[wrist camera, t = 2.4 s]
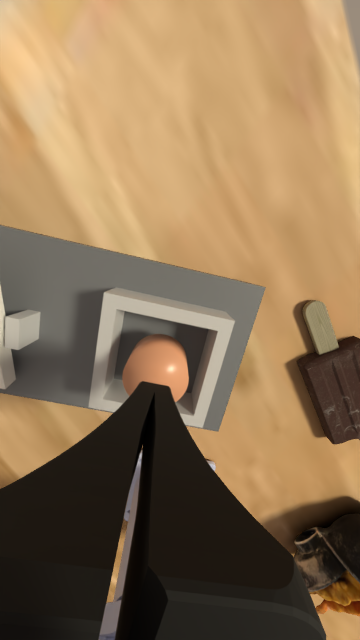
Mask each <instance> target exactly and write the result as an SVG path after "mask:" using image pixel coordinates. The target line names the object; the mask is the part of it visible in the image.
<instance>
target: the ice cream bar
mask: <svg viewBox="0 0 360 640" xmlns="http://www.w3.org/2000/svg"><path fill="white" fill-rule="evenodd" d="M302 312H303V316H304V319H305V322H306V325H307V327H308V330H309V333H310V336H311V339H312V341H313V344H314V347H315V350H316V352H313V353H311V354H308V355H306V356H305V357H303V358H301V359H299V360H298V361H297V363H298V366H299V369H300V371H301V374H302V376H303V379H304V381H305V384H306V386H307V389H308V391H309V394H310V397H311V399H312V402H313V404H314V407H315V409H316V412H317V414H318V417H319V420H320V422H321V425H322V427H323V430H324V432H325V435H326V437H327V438H328V439H329V440H330V441H331V442H332V444H340V443H344V442H346V441H349V440H352V439H359V440H360V339H359V338H357V337H355V336H352V337H350V338H347V339H344V340H342V341H340V342H337V339H336V336H335V333H334V330H333V327H332V324H331V321H330V318H329V315H328V312H327V309H326V306H325V304H324V303H322V302H320V301H316V300H312V301H309V302H308V303H306V304H305V306H304V307H303V311H302Z"/></svg>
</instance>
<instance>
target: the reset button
mask: <svg viewBox="0 0 360 640" xmlns="http://www.w3.org/2000/svg"><path fill="white" fill-rule="evenodd" d="M122 381H123V385H124V388H125V390H126V392H127V394H128V395H129V396H130V395H131V394H132V393H133V392H134V390H135V389H136V388H137V386H138V384H139V383H140V382H142V381H145V382H150V383H155V384H161V385H166V386H169V387H170V389H171V392H172V395H173V398H174V401H175V402H177V401H178V400H179V399H180V398H181V397H182V396H183V395H184V393H185V391H186V389H187V387H188V382H189V376H188V367H187V358H186V352H185V350H184V348H183V346H182V345H181V344H180V343H179V342H178V341H177V340H176V339H175V338H173V337H171V336H168V335H165V334H152V335H149V336H146V337H144V338H143V339H141V340H140V341H139V342H138V343H137V344H136V345H135V347H134V349H133V351H132V353H131V355H130V357H129V359H128V361H127V363H126V365H125V367H124V370H123V375H122Z"/></svg>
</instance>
